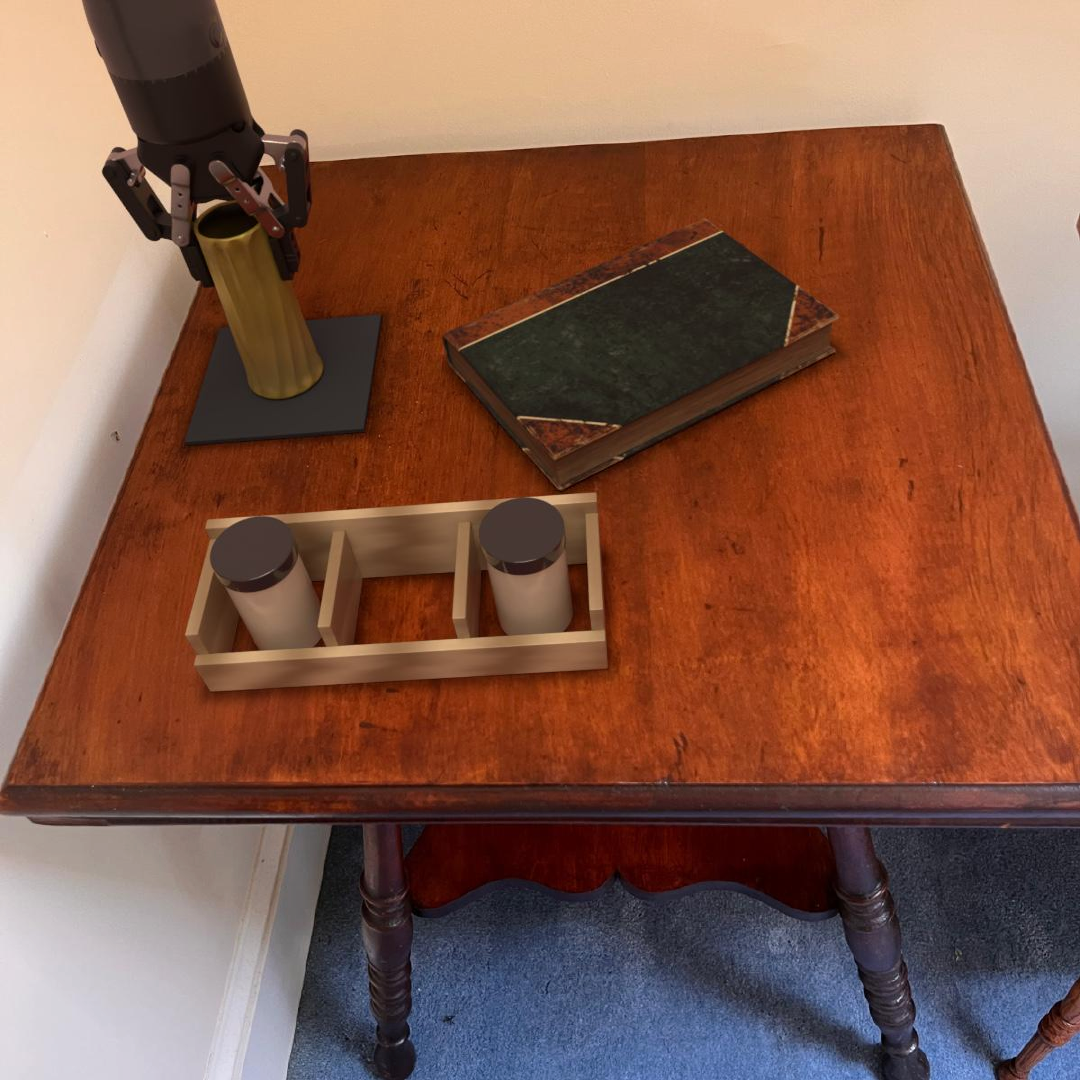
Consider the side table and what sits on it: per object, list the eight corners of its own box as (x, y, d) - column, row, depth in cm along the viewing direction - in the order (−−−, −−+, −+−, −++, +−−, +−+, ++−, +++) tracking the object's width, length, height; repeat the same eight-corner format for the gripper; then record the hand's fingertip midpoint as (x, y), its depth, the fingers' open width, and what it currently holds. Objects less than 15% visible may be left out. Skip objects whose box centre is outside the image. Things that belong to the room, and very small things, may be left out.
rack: (210, 692, 64) (175, 636, 60) (237, 577, 70) (207, 519, 66) (608, 668, 63) (602, 610, 58) (601, 553, 69) (596, 491, 64)
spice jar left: (245, 662, 66) (201, 583, 59) (259, 599, 69) (218, 518, 63) (323, 658, 65) (286, 577, 59) (332, 595, 68) (299, 512, 62)
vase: (236, 397, 82) (171, 241, 71) (267, 347, 86) (209, 193, 75) (307, 404, 81) (251, 246, 70) (335, 354, 84) (286, 197, 74)
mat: (186, 445, 79) (184, 442, 79) (221, 331, 89) (219, 327, 88) (364, 432, 78) (363, 428, 78) (382, 317, 88) (381, 313, 87)
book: (557, 494, 72) (836, 353, 79) (553, 458, 70) (842, 315, 76) (446, 364, 83) (701, 249, 89) (438, 328, 80) (701, 213, 87)
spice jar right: (495, 647, 64) (477, 565, 58) (497, 584, 68) (480, 500, 62) (575, 642, 64) (565, 559, 58) (573, 579, 67) (563, 494, 61)
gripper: (289, 7, 65) (352, 240, 78) (69, 30, 66) (167, 256, 79) (269, 62, 60) (340, 301, 73) (33, 86, 61) (143, 317, 74)
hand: (250, 277), depth 76 cm, fingers closed on vase, 5 cm apart
